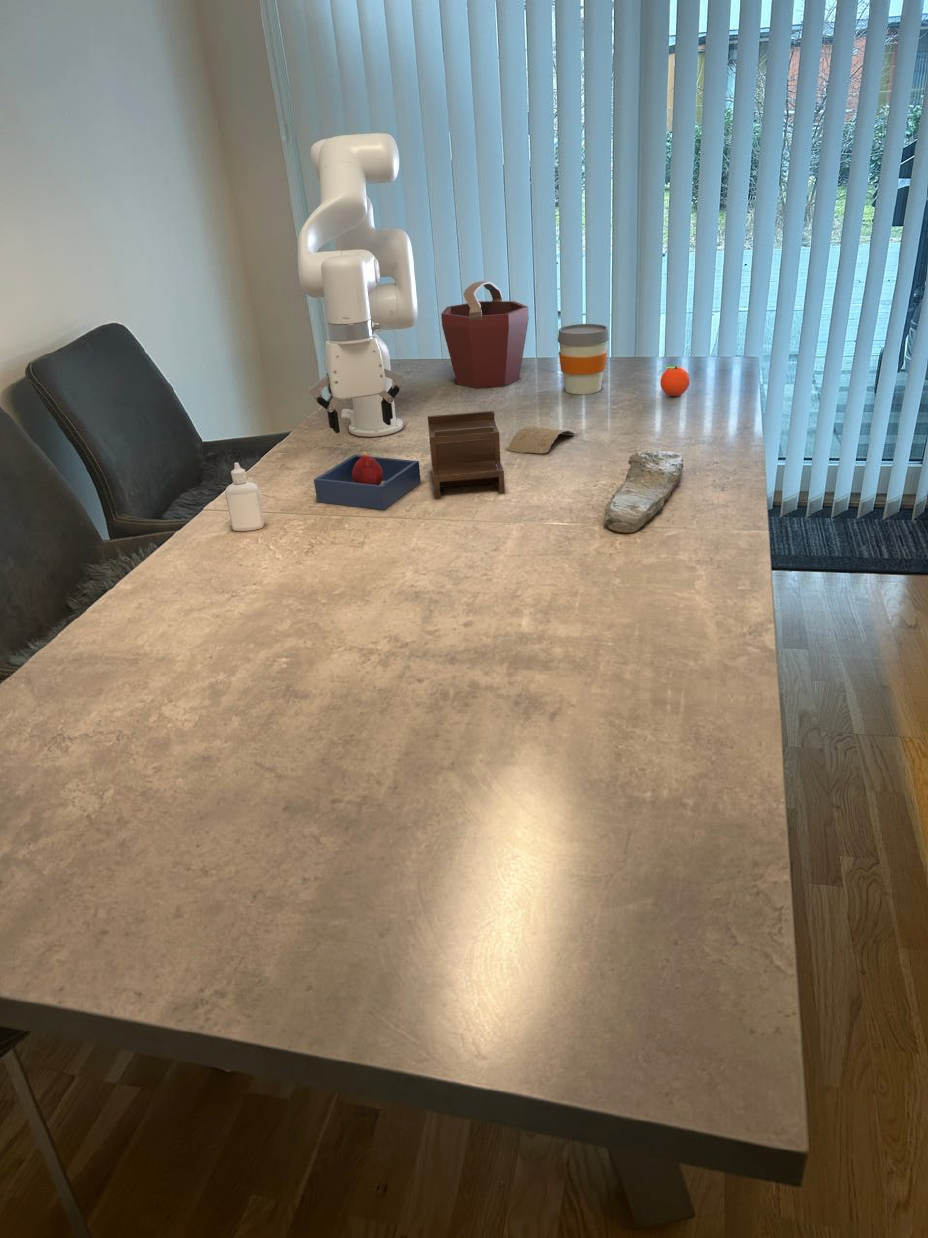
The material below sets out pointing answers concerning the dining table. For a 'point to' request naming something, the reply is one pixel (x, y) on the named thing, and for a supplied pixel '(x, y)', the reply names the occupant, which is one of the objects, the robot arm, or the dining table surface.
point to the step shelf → (465, 450)
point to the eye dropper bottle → (243, 502)
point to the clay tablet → (535, 439)
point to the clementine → (674, 381)
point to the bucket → (485, 338)
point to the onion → (367, 471)
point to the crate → (343, 491)
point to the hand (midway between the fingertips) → (361, 427)
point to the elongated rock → (643, 490)
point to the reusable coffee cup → (583, 356)
